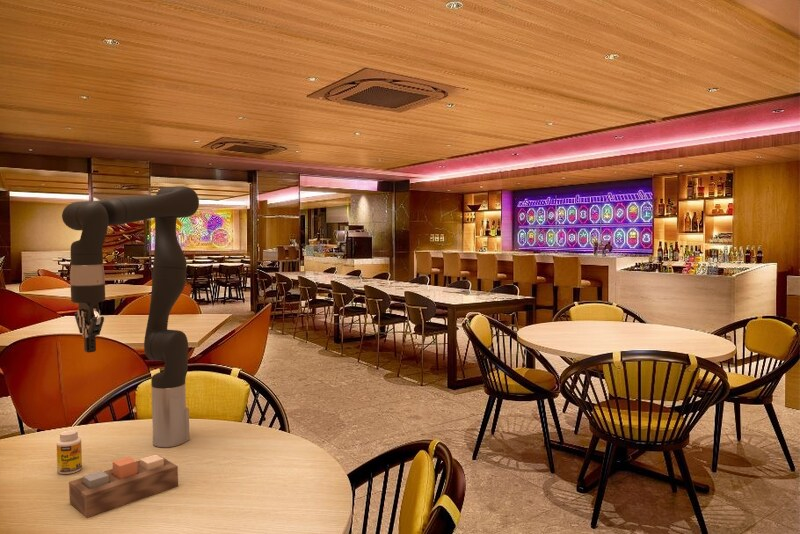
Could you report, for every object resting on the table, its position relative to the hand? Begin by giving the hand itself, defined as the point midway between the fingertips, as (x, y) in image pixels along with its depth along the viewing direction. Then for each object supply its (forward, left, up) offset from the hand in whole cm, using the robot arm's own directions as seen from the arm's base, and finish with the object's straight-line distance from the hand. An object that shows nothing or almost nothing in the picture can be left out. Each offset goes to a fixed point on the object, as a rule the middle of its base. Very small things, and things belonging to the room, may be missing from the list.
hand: (90, 351), depth 145 cm
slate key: (+6, +16, -29) cm, 34 cm away
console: (-1, +16, -32) cm, 36 cm away
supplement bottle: (+3, -8, -32) cm, 33 cm away
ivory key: (-7, +16, -29) cm, 34 cm away
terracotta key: (-1, +16, -28) cm, 32 cm away
